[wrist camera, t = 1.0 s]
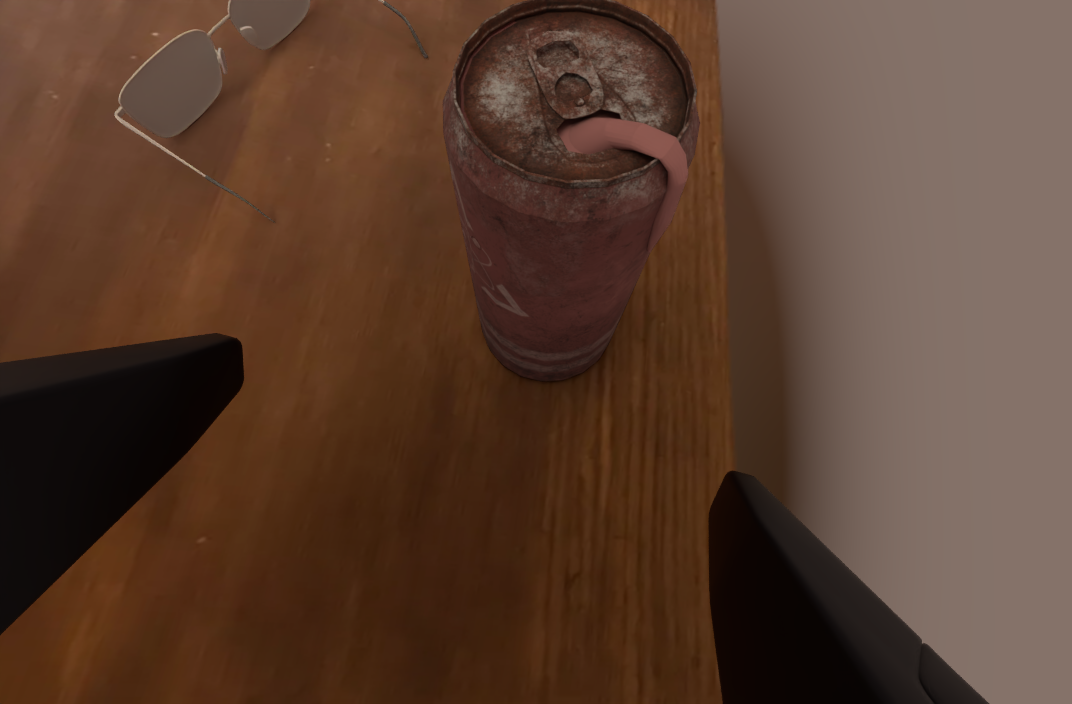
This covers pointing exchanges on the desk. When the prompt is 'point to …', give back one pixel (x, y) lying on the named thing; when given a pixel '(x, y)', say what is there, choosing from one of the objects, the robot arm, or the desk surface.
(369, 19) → the desk surface
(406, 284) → the desk surface
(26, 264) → the desk surface
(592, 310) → the can
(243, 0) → the eyeglasses
